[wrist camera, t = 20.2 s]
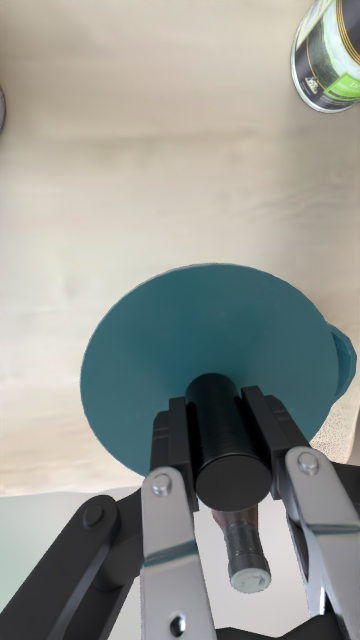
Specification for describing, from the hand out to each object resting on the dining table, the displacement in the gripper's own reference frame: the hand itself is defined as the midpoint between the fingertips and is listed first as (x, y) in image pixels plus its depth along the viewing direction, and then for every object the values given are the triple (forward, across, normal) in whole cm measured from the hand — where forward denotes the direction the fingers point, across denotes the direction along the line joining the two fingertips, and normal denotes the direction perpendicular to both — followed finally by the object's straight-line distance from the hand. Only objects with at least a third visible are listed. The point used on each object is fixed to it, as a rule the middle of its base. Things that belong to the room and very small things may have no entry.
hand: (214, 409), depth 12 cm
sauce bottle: (+25, -2, +25) cm, 35 cm away
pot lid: (+2, 0, 0) cm, 2 cm away
